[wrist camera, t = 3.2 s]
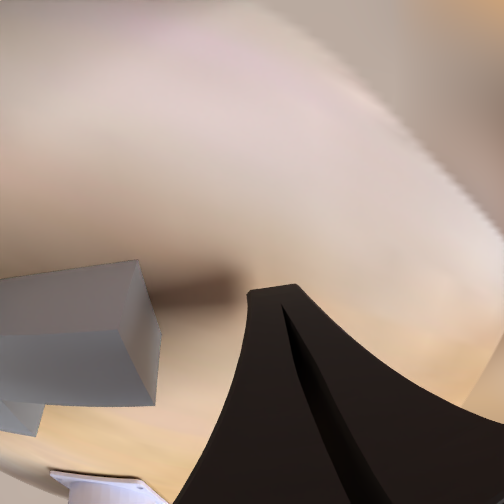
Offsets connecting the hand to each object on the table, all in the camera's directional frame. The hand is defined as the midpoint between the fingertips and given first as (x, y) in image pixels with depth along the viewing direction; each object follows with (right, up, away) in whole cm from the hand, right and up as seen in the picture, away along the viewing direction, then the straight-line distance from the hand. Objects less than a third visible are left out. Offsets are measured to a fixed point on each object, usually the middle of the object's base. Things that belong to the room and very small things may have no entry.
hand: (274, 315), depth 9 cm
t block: (-8, 0, +1) cm, 8 cm away
